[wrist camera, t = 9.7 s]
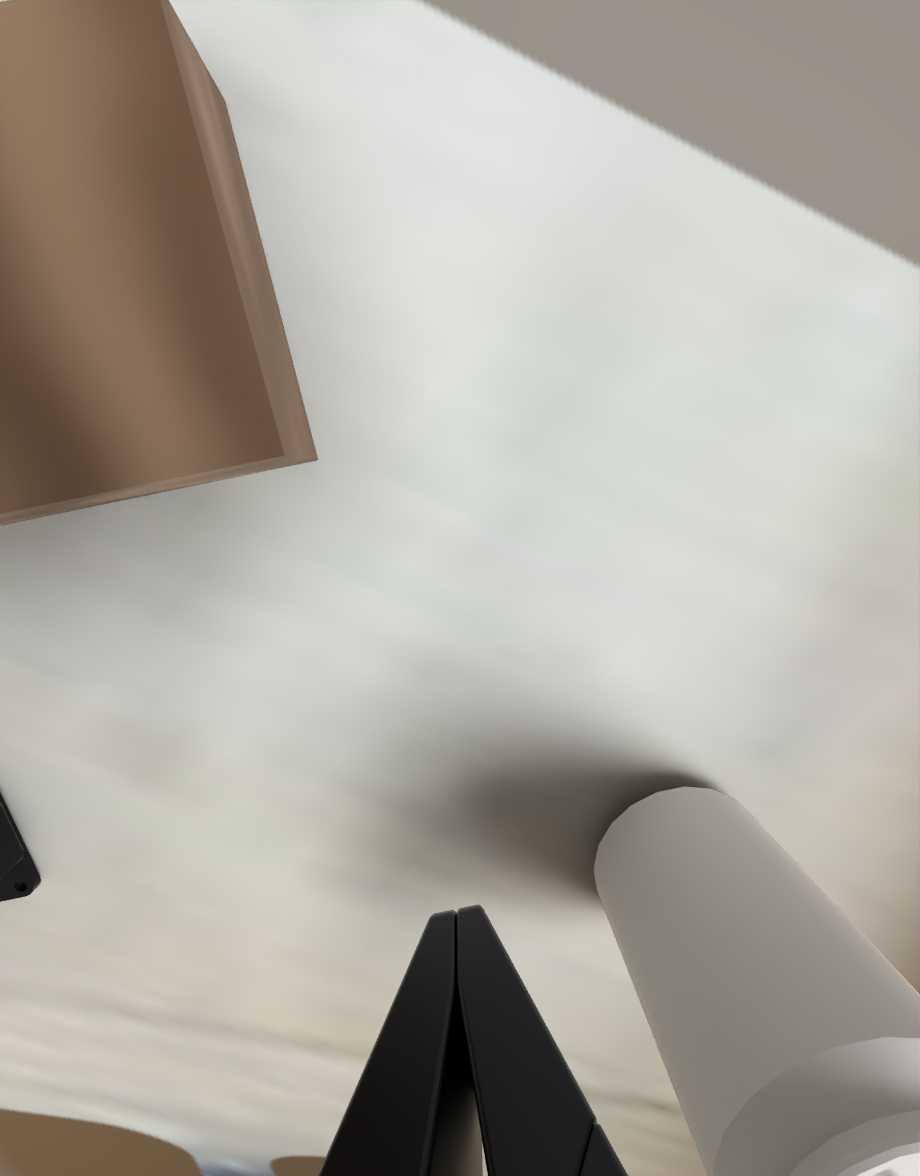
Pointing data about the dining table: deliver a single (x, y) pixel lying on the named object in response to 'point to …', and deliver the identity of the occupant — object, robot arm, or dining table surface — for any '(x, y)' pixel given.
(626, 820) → the can
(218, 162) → the brown flat block
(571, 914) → the dining table surface
